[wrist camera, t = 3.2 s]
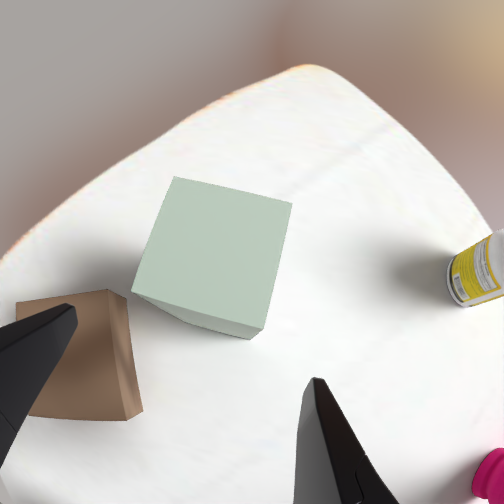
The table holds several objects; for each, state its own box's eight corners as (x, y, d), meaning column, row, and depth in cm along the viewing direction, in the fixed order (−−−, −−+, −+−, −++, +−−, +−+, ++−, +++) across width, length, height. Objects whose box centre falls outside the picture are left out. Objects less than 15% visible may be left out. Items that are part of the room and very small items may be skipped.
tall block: (250, 339, 21) (263, 328, 10) (185, 322, 22) (130, 291, 10) (265, 276, 23) (292, 203, 12) (203, 260, 23) (173, 176, 12)
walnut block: (144, 410, 20) (126, 420, 16) (54, 409, 19) (28, 415, 15) (127, 299, 22) (107, 289, 18) (42, 310, 21) (15, 302, 18)
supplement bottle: (483, 268, 24) (547, 235, 15) (475, 315, 23) (548, 293, 13) (449, 245, 25) (514, 202, 16) (439, 295, 23) (514, 264, 14)
